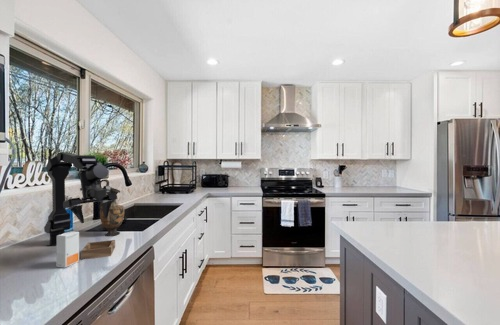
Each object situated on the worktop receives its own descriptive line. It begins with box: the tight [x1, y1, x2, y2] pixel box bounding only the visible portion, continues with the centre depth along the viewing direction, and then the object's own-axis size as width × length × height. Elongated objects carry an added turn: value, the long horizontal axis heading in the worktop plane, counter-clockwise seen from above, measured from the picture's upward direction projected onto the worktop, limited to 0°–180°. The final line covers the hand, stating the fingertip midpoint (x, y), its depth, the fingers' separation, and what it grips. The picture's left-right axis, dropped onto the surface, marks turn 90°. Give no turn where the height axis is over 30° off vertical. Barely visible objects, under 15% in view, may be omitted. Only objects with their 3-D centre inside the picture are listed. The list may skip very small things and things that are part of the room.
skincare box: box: [55, 230, 80, 269], centre depth 93 cm, size 6×4×12 cm
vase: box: [97, 178, 125, 237], centre depth 131 cm, size 12×12×30 cm
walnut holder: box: [80, 239, 116, 261], centre depth 104 cm, size 11×11×4 cm
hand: (95, 220), depth 100 cm, fingers open, 9 cm apart
